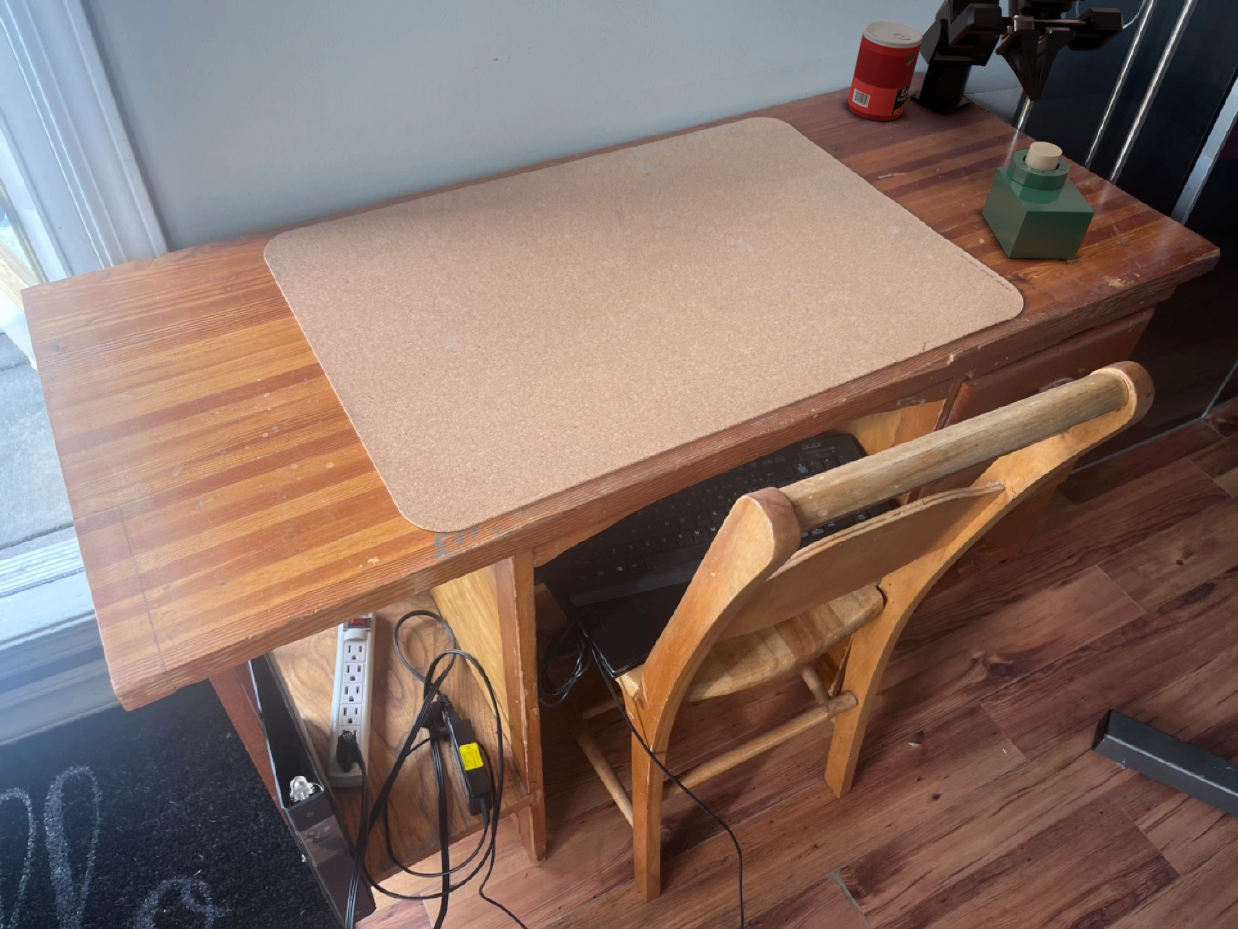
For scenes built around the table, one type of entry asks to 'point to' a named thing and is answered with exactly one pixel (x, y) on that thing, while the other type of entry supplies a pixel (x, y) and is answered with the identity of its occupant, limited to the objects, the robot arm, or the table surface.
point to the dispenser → (1037, 211)
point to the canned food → (884, 70)
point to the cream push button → (1043, 156)
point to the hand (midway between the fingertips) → (1035, 99)
